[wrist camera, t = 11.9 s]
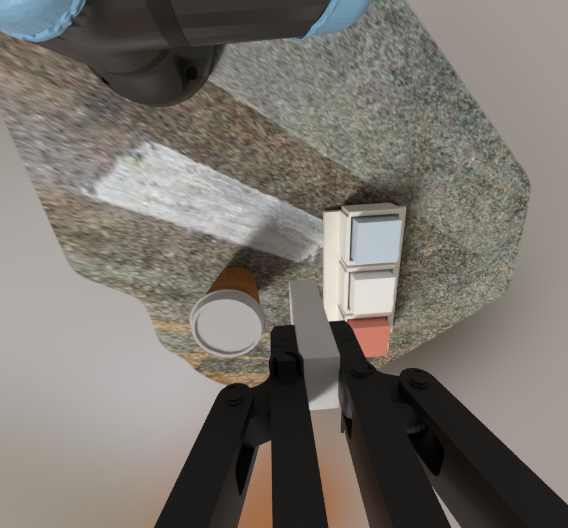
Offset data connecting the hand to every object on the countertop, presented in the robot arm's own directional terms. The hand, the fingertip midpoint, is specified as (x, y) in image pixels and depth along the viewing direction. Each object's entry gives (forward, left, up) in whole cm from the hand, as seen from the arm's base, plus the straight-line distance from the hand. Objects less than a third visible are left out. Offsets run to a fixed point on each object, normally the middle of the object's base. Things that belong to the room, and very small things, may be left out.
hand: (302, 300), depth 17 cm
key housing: (+12, +12, -26) cm, 31 cm away
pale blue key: (+4, +12, -24) cm, 27 cm away
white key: (+12, +12, -24) cm, 29 cm away
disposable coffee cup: (+12, -8, -27) cm, 30 cm away
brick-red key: (+20, +12, -23) cm, 33 cm away
